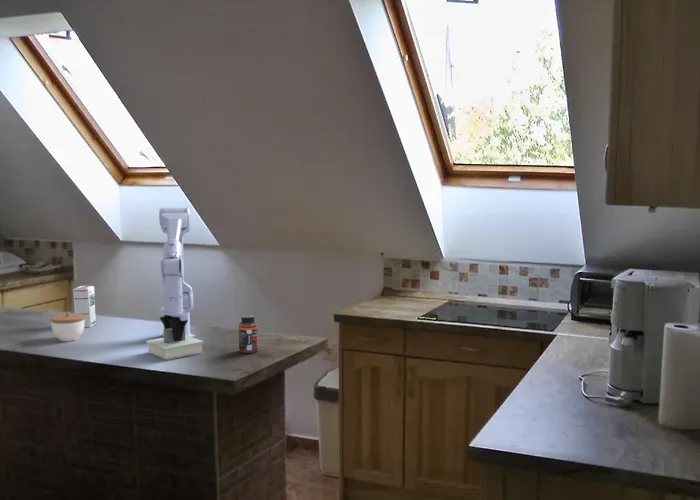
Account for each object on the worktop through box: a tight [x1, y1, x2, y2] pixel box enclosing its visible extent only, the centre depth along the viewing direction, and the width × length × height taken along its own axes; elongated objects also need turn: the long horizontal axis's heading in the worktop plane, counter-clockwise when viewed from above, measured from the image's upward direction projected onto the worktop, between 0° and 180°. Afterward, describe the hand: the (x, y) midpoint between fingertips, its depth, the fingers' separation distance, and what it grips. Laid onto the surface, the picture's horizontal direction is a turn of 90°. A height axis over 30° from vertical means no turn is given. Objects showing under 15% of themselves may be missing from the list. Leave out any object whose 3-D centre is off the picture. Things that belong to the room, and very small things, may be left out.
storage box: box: [147, 344, 203, 361], centre depth 224 cm, size 12×12×3 cm
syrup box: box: [72, 285, 98, 329], centre depth 262 cm, size 6×6×14 cm
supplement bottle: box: [238, 314, 259, 354], centre depth 225 cm, size 6×6×11 cm
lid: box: [145, 328, 205, 351], centre depth 224 cm, size 13×13×5 cm
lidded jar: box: [50, 311, 85, 342], centre depth 243 cm, size 11×11×9 cm
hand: (174, 339), depth 224 cm, fingers open, 4 cm apart
